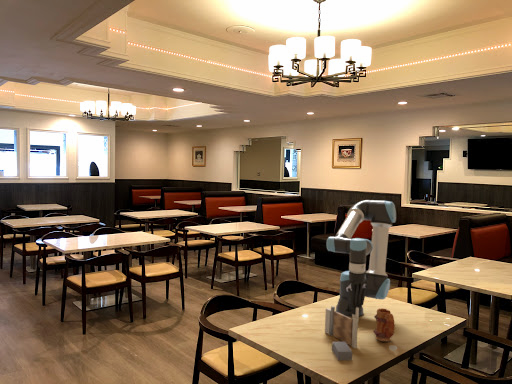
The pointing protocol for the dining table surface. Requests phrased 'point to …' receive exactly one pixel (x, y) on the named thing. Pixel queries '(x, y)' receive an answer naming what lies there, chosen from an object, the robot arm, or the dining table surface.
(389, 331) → the mug
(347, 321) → the door
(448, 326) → the dining table surface
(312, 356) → the dining table surface
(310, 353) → the dining table surface
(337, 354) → the block
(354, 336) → the doorframe
